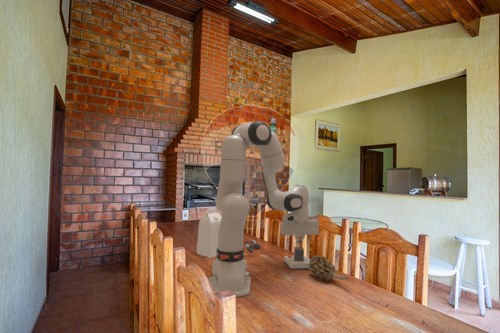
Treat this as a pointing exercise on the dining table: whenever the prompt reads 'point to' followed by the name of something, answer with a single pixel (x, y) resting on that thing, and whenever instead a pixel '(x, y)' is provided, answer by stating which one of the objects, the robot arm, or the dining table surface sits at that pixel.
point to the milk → (208, 233)
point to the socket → (296, 263)
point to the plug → (298, 254)
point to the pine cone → (323, 268)
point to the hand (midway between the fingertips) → (299, 243)
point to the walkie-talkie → (252, 245)
